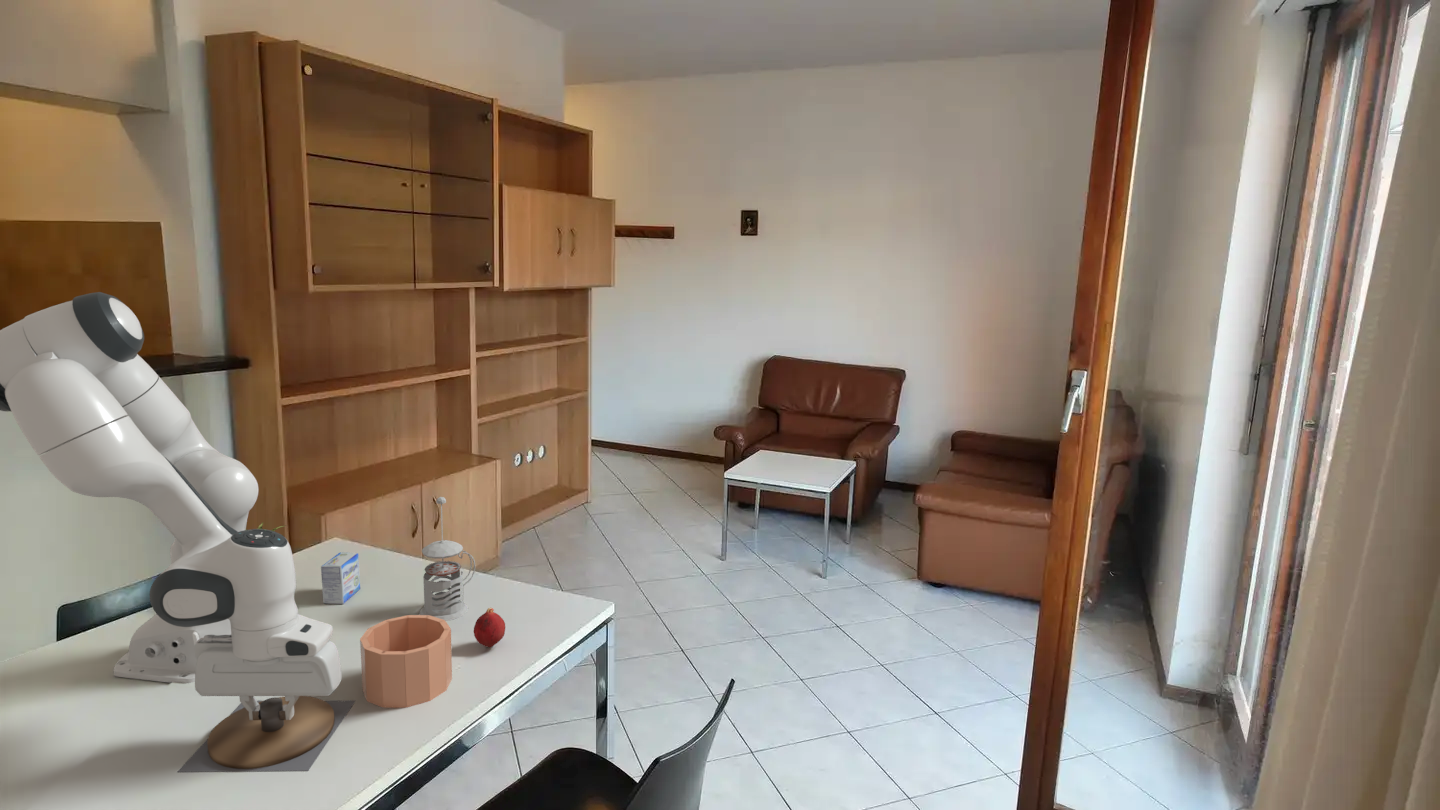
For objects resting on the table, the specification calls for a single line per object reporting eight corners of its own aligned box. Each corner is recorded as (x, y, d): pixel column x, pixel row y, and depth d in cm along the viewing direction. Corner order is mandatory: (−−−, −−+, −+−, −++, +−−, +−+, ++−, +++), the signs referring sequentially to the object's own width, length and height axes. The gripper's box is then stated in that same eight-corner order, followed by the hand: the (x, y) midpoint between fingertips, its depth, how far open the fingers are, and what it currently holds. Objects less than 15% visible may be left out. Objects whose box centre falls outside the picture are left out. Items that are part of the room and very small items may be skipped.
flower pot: (351, 710, 129) (348, 654, 127) (380, 665, 143) (378, 614, 141) (438, 709, 130) (436, 654, 128) (459, 666, 144) (458, 615, 142)
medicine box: (343, 605, 166) (341, 566, 164) (322, 604, 166) (320, 565, 164) (360, 589, 173) (359, 552, 172) (340, 588, 173) (338, 551, 172)
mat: (177, 775, 112) (177, 771, 112) (243, 703, 129) (242, 700, 129) (308, 773, 113) (308, 770, 113) (355, 703, 131) (355, 700, 131)
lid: (182, 769, 112) (179, 737, 111) (244, 702, 129) (242, 673, 128) (306, 768, 114) (304, 736, 113) (351, 702, 130) (349, 673, 129)
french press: (411, 608, 165) (407, 495, 160) (464, 594, 173) (462, 485, 168) (430, 626, 158) (426, 507, 153) (484, 610, 166) (482, 497, 161)
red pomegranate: (496, 656, 148) (495, 617, 146) (468, 652, 149) (467, 613, 147) (510, 642, 153) (510, 604, 152) (483, 638, 154) (482, 600, 153)
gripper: (181, 645, 114) (189, 730, 117) (326, 645, 116) (331, 730, 118) (205, 625, 120) (213, 706, 123) (343, 625, 122) (347, 706, 125)
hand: (272, 718), depth 121 cm, fingers closed on lid, 3 cm apart
